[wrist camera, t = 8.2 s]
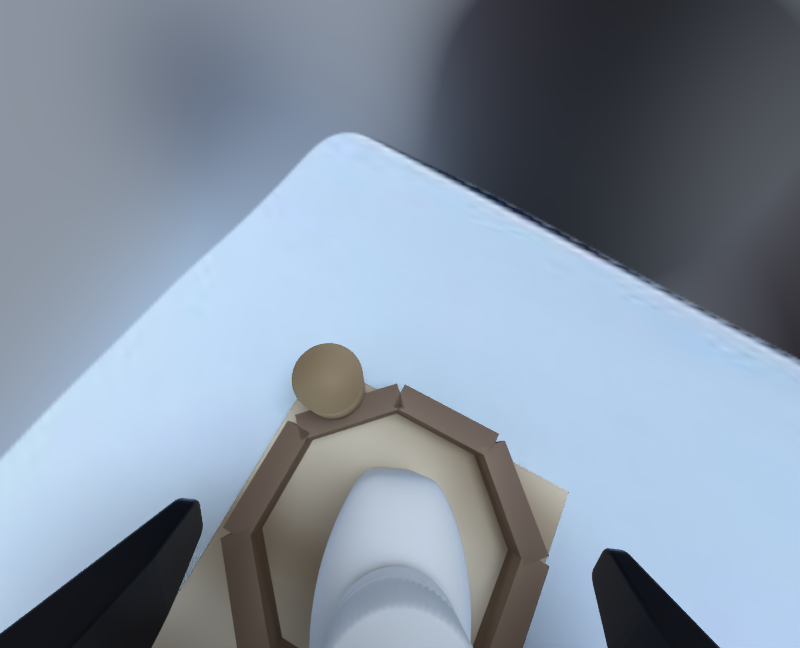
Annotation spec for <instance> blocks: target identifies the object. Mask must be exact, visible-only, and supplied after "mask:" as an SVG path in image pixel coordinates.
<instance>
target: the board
mask: <svg viewBox="0 0 800 648" xmlns="http://www.w3.org/2000/svg"><path fill="white" fill-rule="evenodd" d="M292 386H293V390H294V393H295V395H296V397H297V398H298V399H297V400H296V402H295V404H294V405H293V407H292V408H291V410H290V412H289V413H288V415H287V417H286V418H285V420H284V422H283V423H282V425H281V426H280V428H279V430H278V431H277V433H276V435H275V436H274V438H273V440H272V441H271V443H270V444H269V446H268V448H267V449H266V451H265V453H264V454H263V456H262V458H261V459H260V461H259V462H258V464H257V466H256V467H255V469H254V471H253V472H252V474H251V476H250V477H249V479H248V480H247V482H246V484H245V485H244V487H243V489H242V490H241V492H240V494H239V495H238V497H237V498H236V500H235V502H234V503H233V505H232V507H231V508H230V510H229V512H228V513H227V515H226V516H225V518H224V520H223V521H222V523H221V525H220V526H219V528H218V530H217V531H216V533H215V534H214V536H213V538H212V539H211V541H210V543H209V544H208V546H207V548H206V549H205V551H204V552H203V554H202V556H201V557H200V559H199V561H198V562H197V564H196V565H195V567H194V569H193V570H192V572H191V574H190V575H189V577H188V579H187V580H186V582H185V583H184V585H183V587H182V588H181V590H180V592H179V593H178V595H177V597H176V598H175V600H174V603H173V605H172V607H171V610H170V612H169V614H168V616H167V618H166V620H165V622H164V624H163V626H162V628H161V630H160V632H159V634H158V636H157V638H156V640H155V642H154V644H153V646H152V648H309V641H310V624H311V614H312V606H313V600H314V593H315V588H316V583H317V578H318V573H319V569H320V566H321V562H322V558H323V555H324V552H325V549H326V546H327V543H328V540H329V537H330V534H331V532H332V529H333V527H334V524H335V522H336V519H337V517H338V515H339V513H340V510H341V508H342V506H343V504H344V502H345V500H346V498H347V496H348V495H349V493H350V491H351V490H352V488H353V486H354V485H355V483H356V481H357V480H358V479H359V478H360V477H361V475H362V474H363V473H364V472H366V471H367V470H368V469H369V468H373V467H388V468H400V469H408V470H411V471H413V472H416V473H418V474H421V475H423V476H425V477H428V478H430V479H432V480H434V481H435V482H436V483H437V484H438V485H439V487H440V488H441V489H442V490H443V492H444V494H445V496H446V498H447V500H448V503H449V505H450V507H451V510H452V512H453V515H454V518H455V521H456V524H457V527H458V531H459V534H460V538H461V542H462V546H463V550H464V555H465V560H466V565H467V571H468V579H469V587H470V601H471V644H472V646H473V648H523V645H524V642H525V639H526V636H527V633H528V630H529V627H530V624H531V621H532V618H533V615H534V612H535V609H536V606H537V603H538V600H539V596H540V593H541V590H542V587H543V584H544V581H545V578H546V575H547V572H548V569H549V566H548V565H546V564H545V562H546V559H547V557H548V556H549V555H548V553H549V550H550V547H551V544H552V541H553V538H554V535H555V532H556V529H557V526H558V523H559V520H560V517H561V514H562V511H563V508H564V505H565V502H566V499H567V496H568V493H569V492H568V491H566V490H564V489H562V488H560V487H559V486H557V485H555V484H553V483H551V482H549V481H547V480H545V479H544V478H542V477H540V476H538V475H536V474H534V473H532V472H530V471H529V470H527V469H525V468H523V467H521V466H519V465H517V464H515V463H514V462H513V461H512V458H511V456H510V453H509V451H508V448H507V445H506V443H505V441H498V442H496V440H497V437H498V435H499V434H498V433H496V432H494V431H492V430H490V429H488V428H487V427H485V426H483V425H481V424H479V423H477V422H475V421H473V420H471V419H469V418H468V417H466V416H464V415H462V414H460V413H458V412H456V411H454V410H452V409H451V408H449V407H447V406H445V405H443V404H441V403H439V402H437V401H435V400H433V399H432V398H430V397H428V396H426V395H424V394H422V393H420V392H418V391H416V390H414V389H413V388H411V387H409V386H407V385H404V387H403V389H402V391H401V393H400V392H399V389H398V385H397V384H394V385H391V386H388V387H385V388H381V389H378V390H377V389H375V388H373V387H371V386H369V385H367V384H365V383H364V377H363V372H362V367H361V364H360V362H359V360H358V358H357V357H356V356H355V354H354V353H353V352H351V351H350V350H349V349H347V348H346V347H344V346H341V345H338V344H333V343H326V344H320V345H317V346H314V347H312V348H310V349H309V350H307V351H306V352H305V353H304V354H303V355H302V356H301V357H300V358H299V359H298V361H297V362H296V364H295V367H294V369H293V373H292Z"/></svg>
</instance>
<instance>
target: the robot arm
mask: <svg viewBox="0 0 800 648" xmlns="http://www.w3.org/2000/svg"><path fill="white" fill-rule="evenodd" d="M202 528H203V523H202V516H201V509H200V504H199V502H198V501H197V500H195V499H187V498H180V499H177V500H175V501H174V502H172V503H171V504H170V505H168V506H167V507H166V508H165V509H163V510H162V511H161V512H159V513H158V514H157V515H155V516H154V517H153V518H151V519H150V520H149V521H147V522H146V523H145V524H144V525H142V526H141V527H140V528H138V529H137V530H136V531H134V532H133V533H132V534H130V535H129V536H128V537H126V538H125V539H124V540H123V541H121V542H120V543H119V544H117V545H116V546H115V547H113V548H112V549H111V550H109V551H108V552H107V553H105V554H104V555H103V556H102V557H100V558H99V559H98V560H96V561H95V562H94V563H92V564H91V565H90V566H88V567H87V568H86V569H84V570H83V571H82V572H81V573H79V574H78V575H77V576H75V577H74V578H73V579H71V580H70V581H69V582H67V583H66V584H65V585H63V586H62V587H61V588H60V589H58V590H57V591H56V592H54V593H53V594H52V595H50V596H49V597H48V598H46V599H45V600H44V601H42V602H41V603H40V604H39V605H37V606H36V607H35V608H33V609H32V610H31V611H29V612H28V613H27V614H25V615H24V616H23V617H21V618H20V619H19V620H18V621H16V622H15V623H14V624H12V625H11V626H10V627H8V628H7V629H6V630H4V631H3V632H2V633H0V648H152V646H153V644H154V642H155V640H156V638H157V636H158V634H159V632H160V630H161V628H162V626H163V624H164V622H165V620H166V618H167V616H168V614H169V612H170V610H171V607H172V605H173V603H174V600H175V598H176V595H177V593H178V590H179V588H180V585H181V583H182V580H183V578H184V576H185V573H186V571H187V568H188V566H189V563H190V561H191V558H192V556H193V553H194V551H195V548H196V546H197V543H198V541H199V539H200V536H201V533H202ZM592 581H593V586H594V590H595V595H596V599H597V603H598V608H599V612H600V616H601V621H602V625H603V629H604V634H605V638H606V642H607V646H608V648H720V647H719V646H718V645H717V644H716V643H715V642H714V641H713V640H712V639H711V638H710V637H709V636H708V635H707V634H706V633H705V632H704V631H703V630H702V629H701V628H700V627H699V626H698V625H697V624H696V623H695V622H694V621H693V620H692V619H691V618H690V616H689V615H688V614H687V613H686V612H685V611H684V610H683V609H682V608H681V607H680V606H679V605H678V604H677V603H676V602H675V601H674V600H673V599H672V598H671V597H670V596H669V595H668V594H667V593H666V592H665V591H664V590H663V589H662V588H661V587H660V586H659V585H658V583H657V582H656V581H655V580H654V579H653V578H652V577H651V576H650V575H649V574H648V573H647V572H646V571H645V570H644V569H643V568H642V567H641V566H640V565H639V564H638V563H637V562H636V561H635V560H634V559H633V558H632V557H631V556H630V555H629V554H628V553H627V552H625V551H623V550H619V549H610V548H607V549H605V550H604V551H603V552H602V554H601V556H600V558H599V559H598V561H597V563H596V565H595V567H594V569H593V572H592Z"/></svg>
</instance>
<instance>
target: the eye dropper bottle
mask: <svg viewBox="0 0 800 648" xmlns="http://www.w3.org/2000/svg"><path fill="white" fill-rule="evenodd" d="M309 648H473V646H472V644H471V601H470V587H469V579H468V571H467V565H466V560H465V555H464V550H463V546H462V542H461V538H460V534H459V531H458V527H457V524H456V521H455V518H454V515H453V512H452V510H451V507H450V505H449V503H448V500H447V498H446V496H445V494H444V492H443V490H442V489H441V488H440V487H439V485H438V484H437V483H436V482H435V481H434V480H432V479H430V478H428V477H425V476H423V475H421V474H418V473H416V472H413V471H411V470H408V469H400V468H388V467H373V468H369V469H368V470H367V471H366V472H364V473H363V474H362V475H361V477H360V478H359V479H358V480H357V481H356V483H355V485H354V486H353V488H352V490H351V491H350V493H349V495H348V496H347V498H346V500H345V502H344V504H343V506H342V508H341V510H340V513H339V515H338V517H337V519H336V522H335V524H334V527H333V529H332V532H331V534H330V537H329V540H328V543H327V546H326V549H325V552H324V555H323V558H322V562H321V566H320V569H319V573H318V578H317V583H316V588H315V593H314V600H313V606H312V614H311V624H310V641H309Z"/></svg>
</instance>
